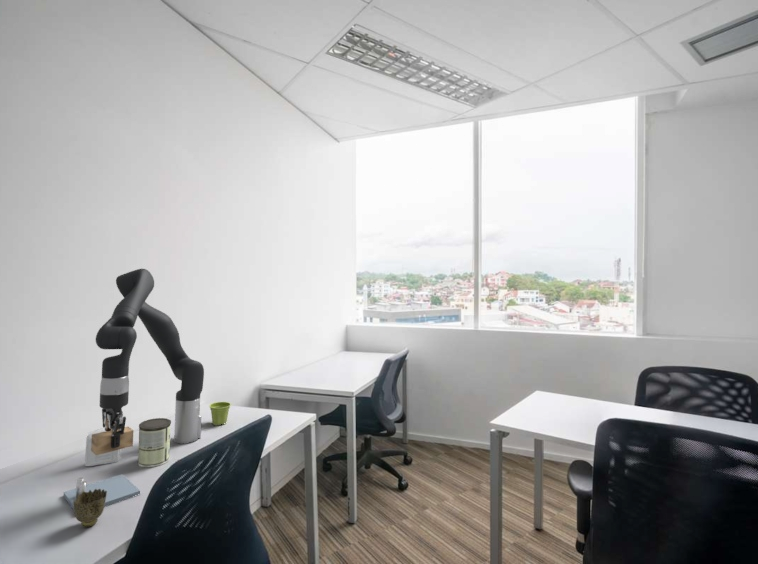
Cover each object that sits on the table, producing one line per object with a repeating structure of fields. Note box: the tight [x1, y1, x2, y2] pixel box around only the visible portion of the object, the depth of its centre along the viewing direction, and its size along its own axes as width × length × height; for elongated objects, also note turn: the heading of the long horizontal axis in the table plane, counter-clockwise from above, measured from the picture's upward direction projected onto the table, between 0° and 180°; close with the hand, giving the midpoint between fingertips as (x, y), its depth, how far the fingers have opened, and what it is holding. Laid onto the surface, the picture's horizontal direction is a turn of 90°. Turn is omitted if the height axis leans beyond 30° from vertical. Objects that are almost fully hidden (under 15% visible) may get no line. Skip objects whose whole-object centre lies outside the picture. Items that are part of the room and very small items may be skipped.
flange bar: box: [91, 426, 134, 455], centre depth 127 cm, size 10×4×5 cm, turn 140°
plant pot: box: [208, 401, 232, 426], centre depth 189 cm, size 9×9×9 cm
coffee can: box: [137, 417, 172, 468], centre depth 149 cm, size 10×10×14 cm
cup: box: [73, 489, 107, 528], centre depth 111 cm, size 8×7×8 cm
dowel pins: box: [75, 477, 87, 498], centre depth 121 cm, size 2×5×5 cm, turn 50°
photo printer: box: [84, 427, 121, 467], centre depth 146 cm, size 10×4×12 cm, turn 123°
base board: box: [63, 473, 141, 511], centre depth 125 cm, size 16×15×1 cm
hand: (112, 444), depth 127 cm, fingers closed on flange bar, 4 cm apart
